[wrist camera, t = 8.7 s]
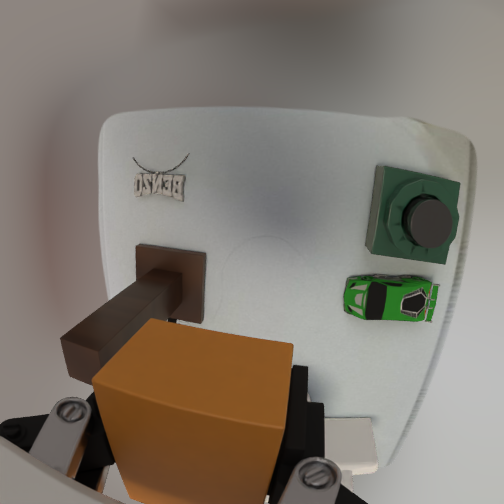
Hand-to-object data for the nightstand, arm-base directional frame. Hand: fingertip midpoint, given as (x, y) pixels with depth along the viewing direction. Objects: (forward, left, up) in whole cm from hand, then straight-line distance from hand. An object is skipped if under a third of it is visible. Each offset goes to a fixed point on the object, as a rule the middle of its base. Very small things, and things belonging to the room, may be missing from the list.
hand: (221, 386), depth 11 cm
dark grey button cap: (-5, +13, -17) cm, 22 cm away
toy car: (+4, +13, -22) cm, 26 cm away
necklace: (-6, -13, -22) cm, 26 cm away
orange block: (0, 0, +1) cm, 1 cm away
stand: (+6, -11, -22) cm, 25 cm away
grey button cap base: (-5, +13, -22) cm, 26 cm away
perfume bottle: (+23, +12, -22) cm, 34 cm away
